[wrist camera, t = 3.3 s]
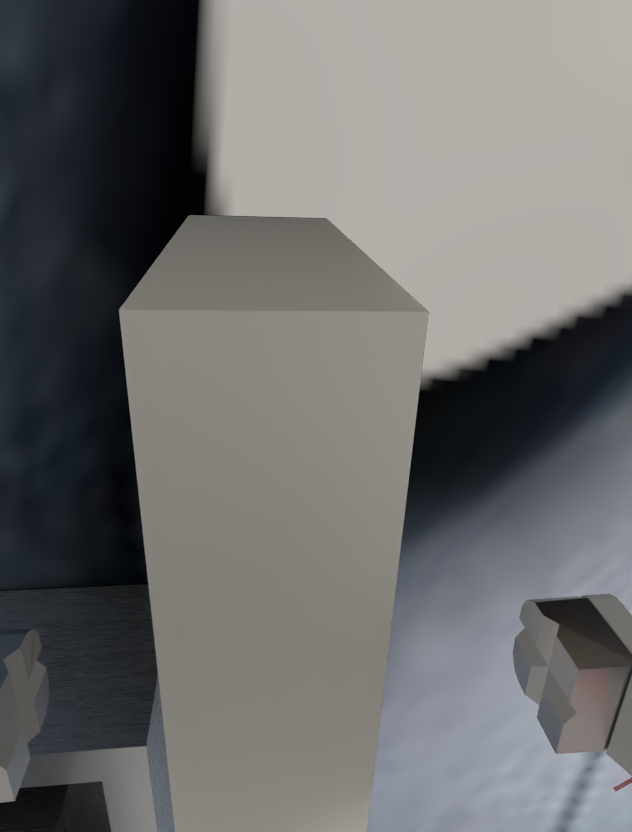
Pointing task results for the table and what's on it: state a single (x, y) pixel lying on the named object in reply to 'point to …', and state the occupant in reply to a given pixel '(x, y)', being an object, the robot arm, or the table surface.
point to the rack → (93, 714)
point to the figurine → (623, 784)
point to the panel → (271, 512)
